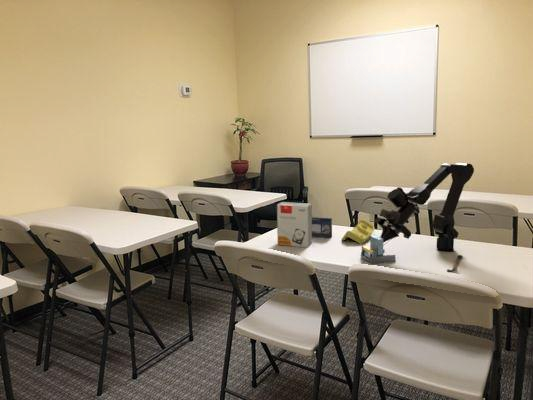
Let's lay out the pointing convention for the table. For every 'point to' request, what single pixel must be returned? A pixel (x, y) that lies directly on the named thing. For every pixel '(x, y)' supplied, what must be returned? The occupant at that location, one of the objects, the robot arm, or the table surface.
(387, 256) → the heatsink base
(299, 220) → the hard drive box
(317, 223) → the vhs cassette tape
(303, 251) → the table surface
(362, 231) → the plastic component
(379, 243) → the grey-blue brushed block
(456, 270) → the tomahawk
